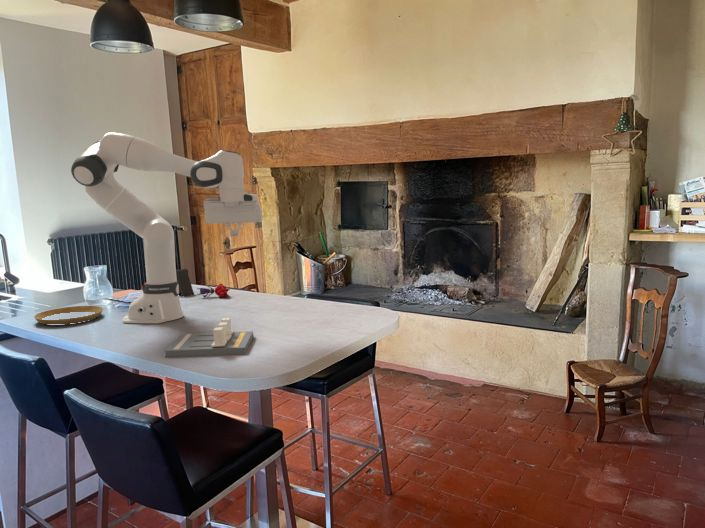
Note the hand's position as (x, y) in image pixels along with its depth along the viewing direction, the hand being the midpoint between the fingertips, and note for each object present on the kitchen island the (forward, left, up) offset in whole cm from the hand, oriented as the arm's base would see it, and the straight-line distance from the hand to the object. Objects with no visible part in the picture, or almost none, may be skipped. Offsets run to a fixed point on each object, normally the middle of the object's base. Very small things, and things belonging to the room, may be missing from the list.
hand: (234, 235), depth 194 cm
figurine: (-20, +51, -33) cm, 64 cm away
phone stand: (-37, +60, -33) cm, 78 cm away
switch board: (-5, -26, -33) cm, 42 cm away
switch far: (-1, -20, -31) cm, 36 cm away
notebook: (-60, +57, -34) cm, 89 cm away
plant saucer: (-70, +18, -34) cm, 80 cm away
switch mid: (-1, -26, -30) cm, 40 cm away
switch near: (-1, -32, -30) cm, 44 cm away
